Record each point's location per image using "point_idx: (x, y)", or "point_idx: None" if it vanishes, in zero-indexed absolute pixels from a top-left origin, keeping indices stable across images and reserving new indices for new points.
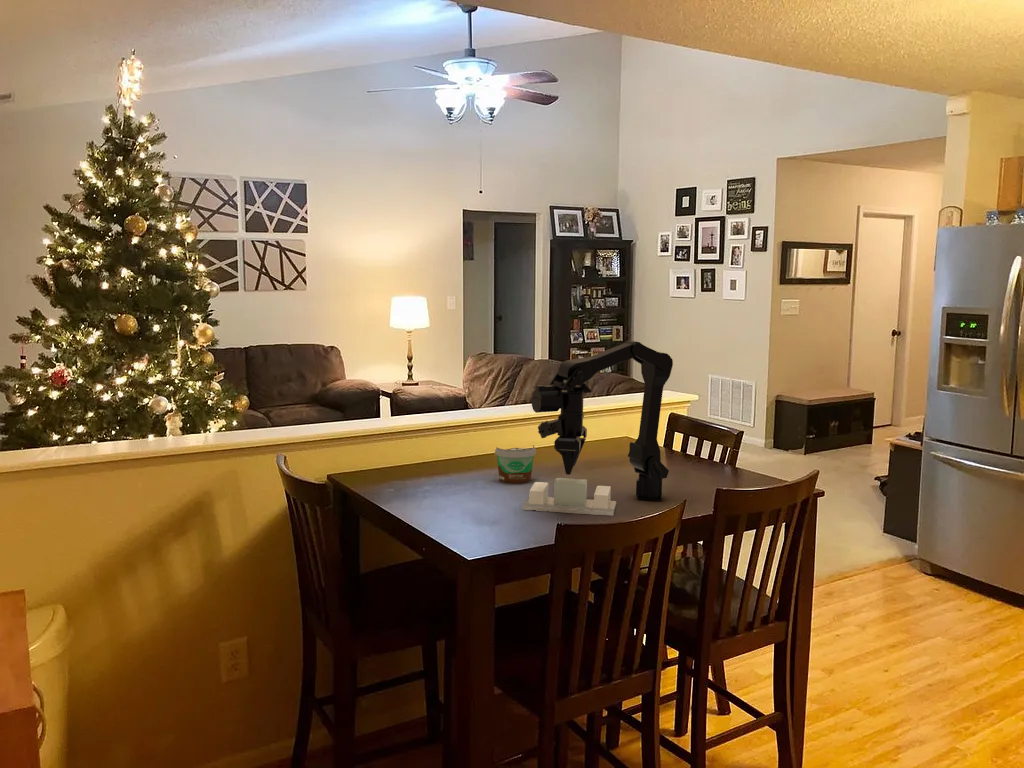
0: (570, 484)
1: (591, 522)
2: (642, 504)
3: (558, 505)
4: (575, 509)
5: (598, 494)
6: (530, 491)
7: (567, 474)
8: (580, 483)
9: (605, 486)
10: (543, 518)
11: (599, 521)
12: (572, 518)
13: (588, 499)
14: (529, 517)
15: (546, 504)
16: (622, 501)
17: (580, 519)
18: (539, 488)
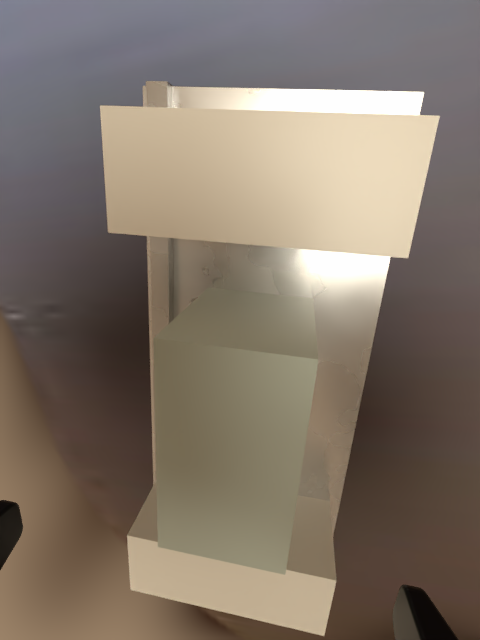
0: (160, 453)
1: (57, 439)
2: (342, 636)
3: (154, 319)
4: (152, 396)
5: (138, 555)
6: (104, 118)
7: (8, 508)
8: (166, 522)
9: (319, 613)
10: (40, 238)
11: (79, 467)
12: (83, 371)
13: (346, 466)
14: (31, 159)
15: (157, 248)
16: (386, 585)
17: (81, 402)
18: (193, 192)
